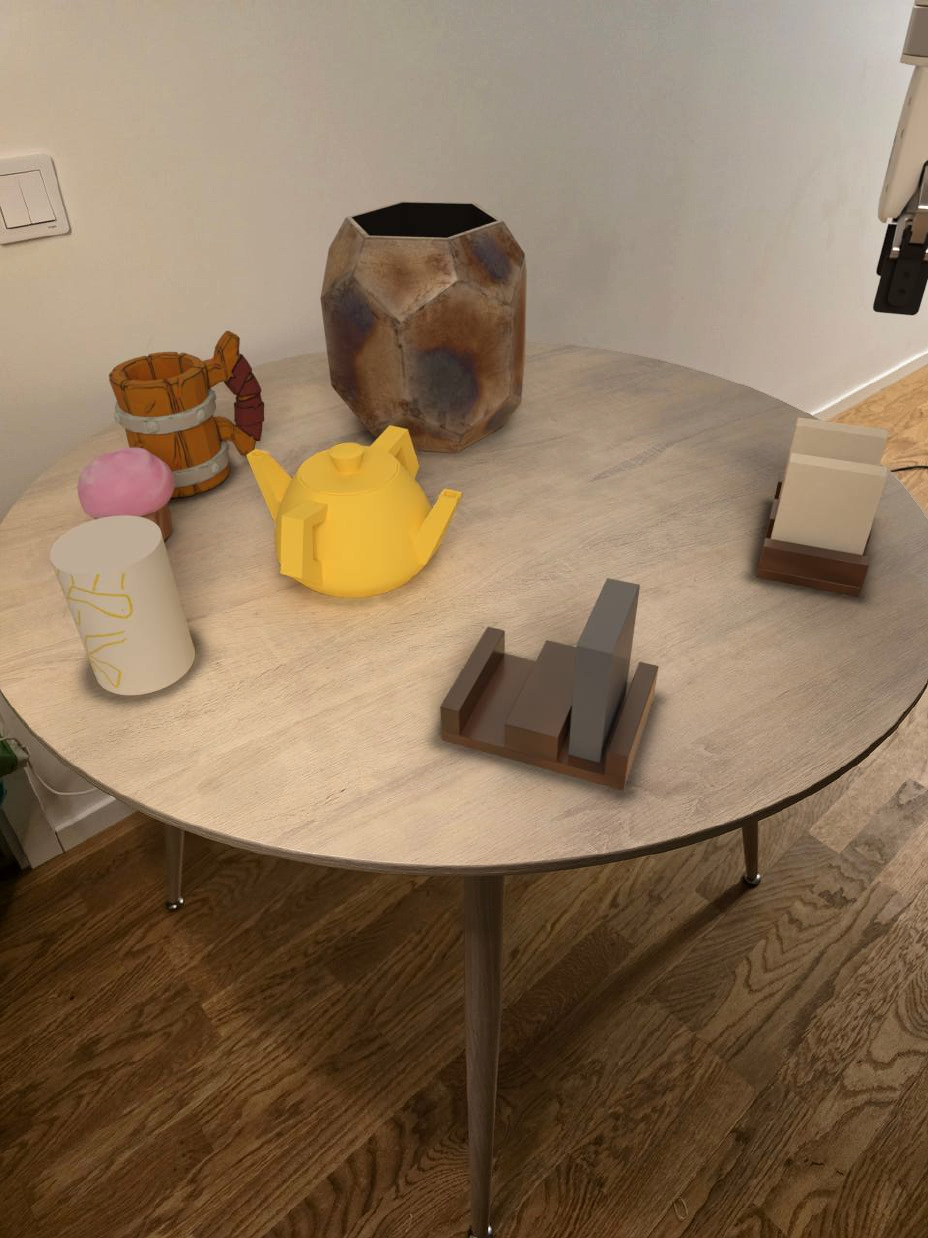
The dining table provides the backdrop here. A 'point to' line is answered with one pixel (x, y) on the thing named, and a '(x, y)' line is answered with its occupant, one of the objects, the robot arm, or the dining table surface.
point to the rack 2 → (811, 562)
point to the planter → (427, 321)
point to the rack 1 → (539, 710)
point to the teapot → (354, 516)
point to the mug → (189, 411)
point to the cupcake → (128, 487)
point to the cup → (124, 603)
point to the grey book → (602, 669)
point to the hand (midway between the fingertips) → (895, 293)
